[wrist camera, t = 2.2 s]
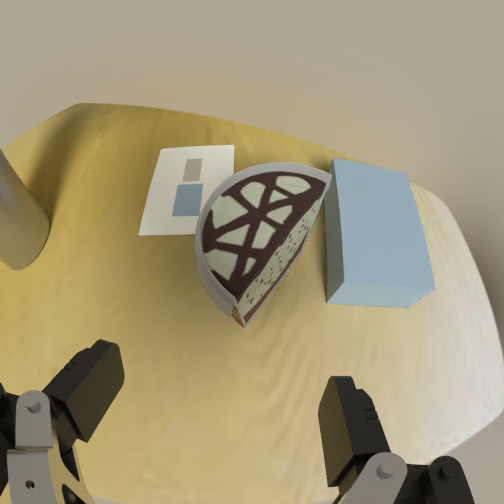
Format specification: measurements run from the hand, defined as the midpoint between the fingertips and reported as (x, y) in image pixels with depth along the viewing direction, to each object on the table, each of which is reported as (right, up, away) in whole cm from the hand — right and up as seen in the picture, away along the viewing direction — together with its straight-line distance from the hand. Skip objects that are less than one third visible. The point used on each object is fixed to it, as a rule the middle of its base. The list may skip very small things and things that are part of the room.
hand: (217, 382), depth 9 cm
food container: (+1, +3, +17) cm, 17 cm away
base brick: (+13, +6, +18) cm, 23 cm away
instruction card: (-6, +13, +22) cm, 26 cm away
